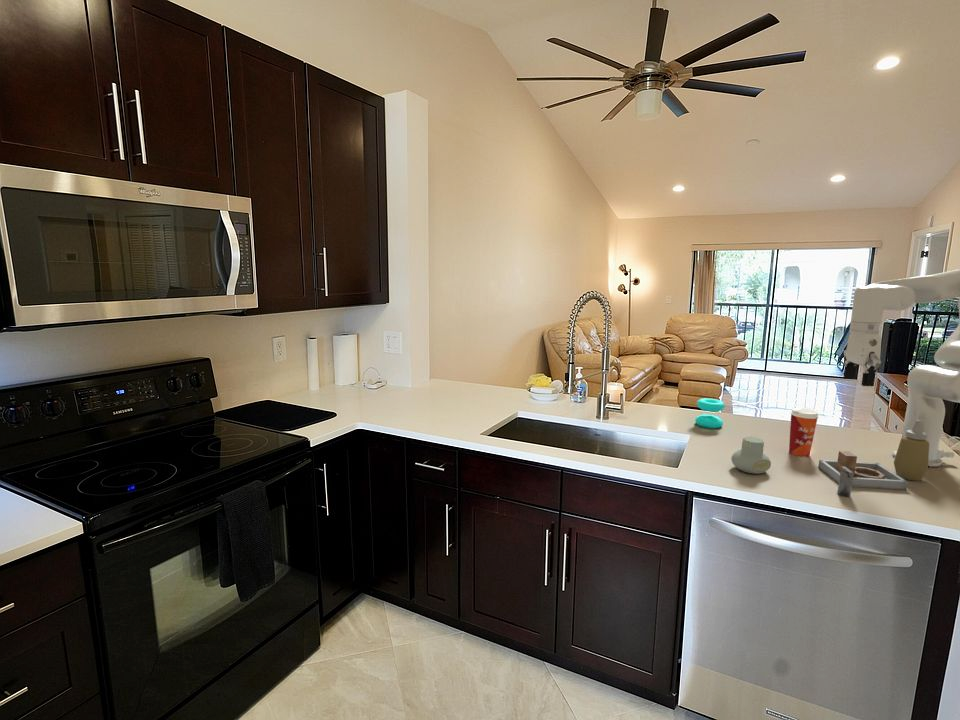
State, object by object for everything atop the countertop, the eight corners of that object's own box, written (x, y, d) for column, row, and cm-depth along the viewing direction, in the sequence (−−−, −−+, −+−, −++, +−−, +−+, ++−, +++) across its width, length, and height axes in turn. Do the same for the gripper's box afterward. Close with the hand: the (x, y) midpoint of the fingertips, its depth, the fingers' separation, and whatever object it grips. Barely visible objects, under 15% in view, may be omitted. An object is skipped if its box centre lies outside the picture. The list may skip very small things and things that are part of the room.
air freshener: (745, 477, 156) (749, 445, 154) (725, 466, 164) (728, 436, 162) (774, 473, 159) (778, 442, 157) (753, 463, 167) (757, 433, 165)
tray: (877, 470, 162) (878, 463, 162) (906, 490, 148) (907, 481, 148) (818, 467, 164) (819, 459, 164) (841, 485, 151) (843, 477, 150)
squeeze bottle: (910, 471, 161) (920, 416, 158) (933, 482, 153) (944, 424, 150) (884, 471, 161) (894, 416, 158) (906, 483, 153) (917, 424, 150)
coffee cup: (799, 458, 171) (805, 415, 168) (779, 450, 179) (784, 408, 176) (819, 456, 173) (826, 413, 170) (799, 447, 181) (804, 406, 178)
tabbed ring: (873, 472, 160) (876, 450, 158) (889, 483, 152) (893, 460, 150) (832, 469, 161) (835, 448, 160) (846, 480, 153) (849, 458, 152)
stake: (845, 491, 147) (849, 466, 146) (853, 498, 143) (857, 473, 142) (833, 490, 148) (837, 466, 146) (842, 497, 143) (845, 472, 142)
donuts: (701, 396, 210) (727, 400, 204) (698, 419, 212) (725, 424, 206) (694, 401, 203) (721, 405, 197) (692, 425, 204) (719, 430, 199)
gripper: (897, 331, 149) (889, 389, 152) (861, 323, 166) (855, 375, 169) (868, 331, 150) (861, 388, 153) (836, 323, 167) (830, 375, 170)
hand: (858, 382), depth 161 cm, fingers open, 9 cm apart
